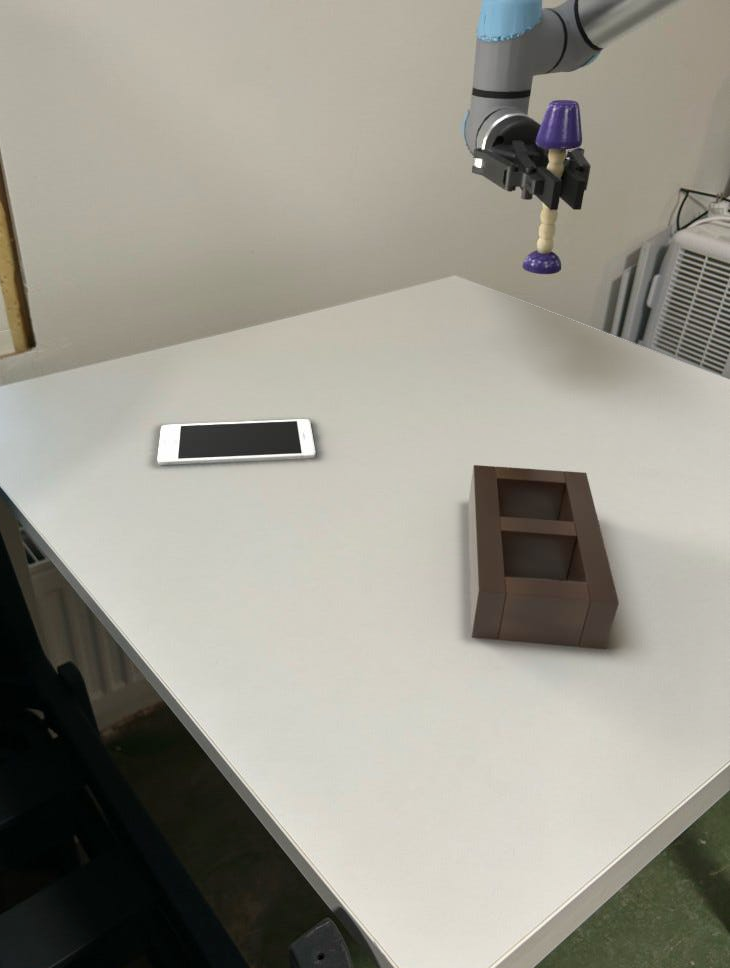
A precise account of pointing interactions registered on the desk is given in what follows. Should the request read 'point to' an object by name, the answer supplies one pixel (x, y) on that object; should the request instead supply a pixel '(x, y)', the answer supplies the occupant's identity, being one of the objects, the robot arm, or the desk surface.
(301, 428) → the cell phone
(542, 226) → the toy lamp
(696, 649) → the desk surface
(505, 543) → the stand
